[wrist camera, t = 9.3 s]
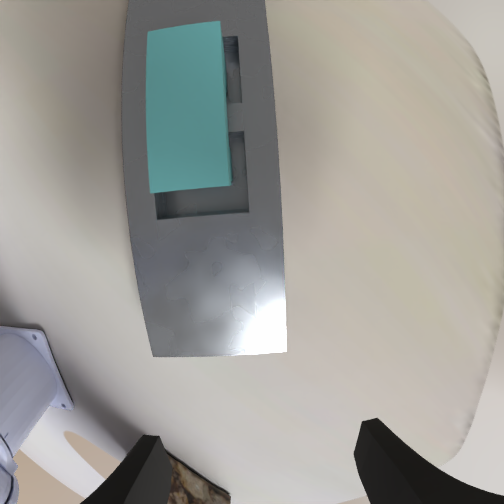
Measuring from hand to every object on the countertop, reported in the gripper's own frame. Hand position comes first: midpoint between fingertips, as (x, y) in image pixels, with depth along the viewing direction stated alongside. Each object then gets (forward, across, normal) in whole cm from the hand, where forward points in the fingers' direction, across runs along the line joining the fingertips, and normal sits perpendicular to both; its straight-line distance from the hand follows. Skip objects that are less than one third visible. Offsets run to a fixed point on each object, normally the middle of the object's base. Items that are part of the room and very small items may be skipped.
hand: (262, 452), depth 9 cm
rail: (+10, +2, -12) cm, 16 cm away
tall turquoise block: (+9, +2, -12) cm, 15 cm away
